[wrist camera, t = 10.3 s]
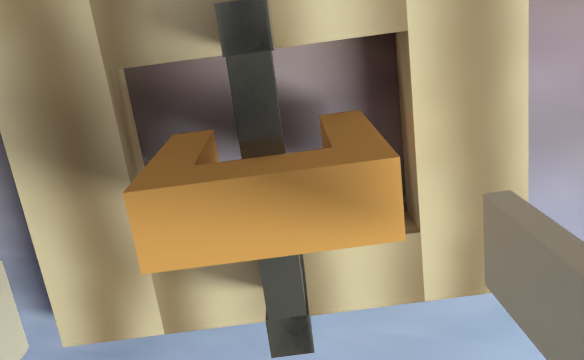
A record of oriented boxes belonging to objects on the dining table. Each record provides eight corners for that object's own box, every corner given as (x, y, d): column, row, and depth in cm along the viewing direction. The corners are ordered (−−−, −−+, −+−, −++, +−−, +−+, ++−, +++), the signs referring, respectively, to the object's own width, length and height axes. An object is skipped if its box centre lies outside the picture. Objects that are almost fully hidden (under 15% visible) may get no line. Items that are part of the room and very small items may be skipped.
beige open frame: (82, 317, 32) (63, 347, 29) (-6, -3, 27) (-40, -5, 24) (505, 263, 32) (528, 288, 29) (501, -71, 26) (528, -82, 24)
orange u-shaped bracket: (184, 192, 27) (141, 274, 19) (172, 134, 26) (122, 193, 18) (365, 168, 27) (405, 240, 19) (360, 109, 26) (399, 156, 18)
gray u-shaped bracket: (273, 263, 31) (271, 357, 23) (234, 6, 27) (213, 3, 19) (304, 259, 31) (314, 352, 23) (269, 1, 27) (266, -4, 18)
